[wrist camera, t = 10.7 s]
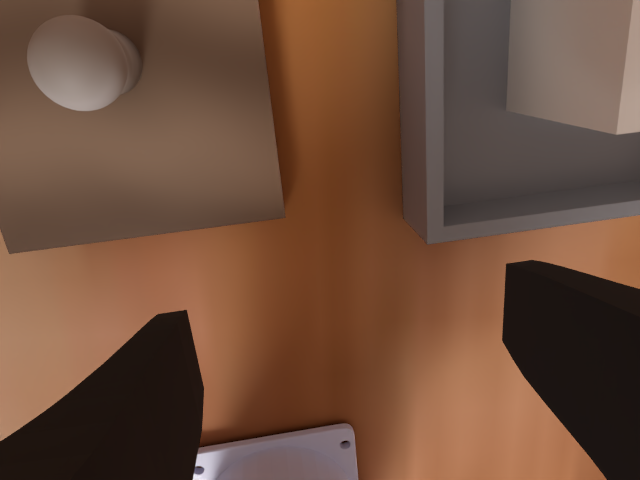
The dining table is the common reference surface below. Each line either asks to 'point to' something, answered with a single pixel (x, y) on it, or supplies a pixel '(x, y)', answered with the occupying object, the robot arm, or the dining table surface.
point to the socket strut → (576, 62)
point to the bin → (493, 136)
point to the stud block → (132, 120)
